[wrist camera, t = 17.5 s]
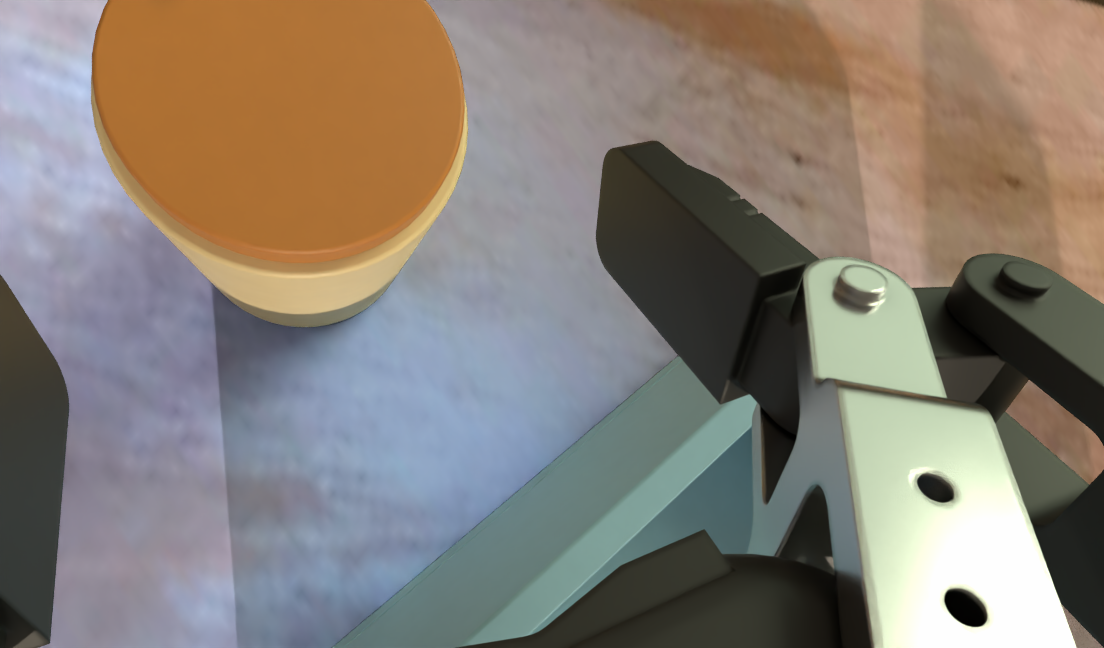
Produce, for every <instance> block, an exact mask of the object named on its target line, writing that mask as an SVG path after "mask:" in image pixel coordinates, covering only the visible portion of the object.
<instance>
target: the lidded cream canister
mask: <svg viewBox="0 0 1104 648" xmlns="http://www.w3.org/2000/svg"><path fill="white" fill-rule="evenodd" d="M91 104H92V110H93V117H94V124H95V128H96V131H97V135H98V138H99V141H100V144H101V147H102V151H103V153H104V155H105V157H106V159H107V161H108V163H109V165H110V167H111V169H112V171H113V174H114V175H115V177H116V178H117V180H118V181H119V183H120V184H121V186H122V187H123V189H124V190H125V192H126V193H127V195H128V196H129V197H130V198H131V199H132V201H133V202H134V203H135V204H136V205H137V206H138V207H139V209H140V210H141V211H142V212H143V213H144V214H145V215H146V216H147V217H148V219H149V220H150V221H151V222H152V223H153V224H154V225H155V226H156V227H157V228H158V229H159V230H160V231H161V232H162V233H163V234H164V235H165V236H166V237H167V238H168V239H169V240H170V241H171V242H172V243H173V244H174V245H175V246H176V247H177V248H178V249H179V250H180V251H181V252H182V253H183V254H184V255H185V256H186V257H187V258H188V259H189V260H190V261H191V262H192V263H193V264H194V265H195V266H196V267H197V268H198V269H199V270H200V271H201V272H202V273H203V274H204V275H205V276H206V278H207V279H208V280H209V281H210V282H211V283H212V284H213V285H214V286H215V287H216V288H217V289H218V290H219V291H220V292H221V293H222V294H223V295H224V296H226V297H227V298H228V299H229V300H230V301H231V302H232V303H234V304H235V305H237V306H238V307H240V308H241V309H243V310H244V311H246V312H248V313H250V314H252V315H254V316H256V317H257V318H260V319H263V320H266V321H268V322H271V323H275V324H280V325H284V326H292V327H317V326H324V325H330V324H333V323H337V322H340V321H343V320H345V319H348V318H350V317H353V316H355V315H356V314H358V313H360V312H362V311H363V310H365V309H366V308H368V307H369V306H370V305H371V304H373V303H374V302H375V301H376V300H377V299H378V298H379V297H380V296H381V295H382V294H383V293H384V292H385V291H386V290H387V288H388V287H389V286H390V284H391V283H392V282H393V280H394V279H395V277H396V276H397V274H398V273H399V272H400V270H401V269H402V267H403V266H404V264H405V263H406V261H407V260H408V259H409V257H410V256H411V254H412V253H413V251H414V250H415V249H416V247H417V246H418V244H419V243H420V241H421V240H422V238H423V237H424V236H425V234H426V233H427V231H428V230H429V228H430V227H431V226H432V224H433V223H434V221H435V220H436V218H437V217H438V215H439V214H440V213H441V211H442V210H443V208H444V207H445V205H446V203H447V201H448V200H449V198H450V196H451V194H452V192H453V191H454V189H455V186H456V183H457V181H458V178H459V176H460V173H461V171H462V166H463V162H464V158H465V154H466V147H467V136H468V119H467V106H466V101H465V95H464V88H463V82H462V76H461V71H460V67H459V64H458V61H457V57H456V54H455V51H454V49H453V46H452V44H451V42H450V40H449V37H448V35H447V33H446V31H445V29H444V27H443V25H442V24H441V22H440V20H439V19H438V17H437V15H436V14H435V12H434V10H433V9H432V8H431V6H430V5H429V4H428V2H427V1H426V0H108V2H107V4H106V5H105V7H104V9H103V12H102V15H101V18H100V21H99V24H98V27H97V30H96V34H95V40H94V46H93V52H92V76H91Z"/></svg>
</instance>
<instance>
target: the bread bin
mask: <svg viewBox="0 0 1104 648" xmlns="http://www.w3.org/2000/svg"><path fill="white" fill-rule="evenodd" d="M756 404H757V402H756V401H755V399H754V398H753V397H752V396H751V395H750V394H749V395H746V396H743V397H741V398H738V399H735V400H732V401H730V402H727V403H724V404H721V405H720V404H719V403H718V402H717V400H716V399H715V398H714V397H713V396H712V394H711V393H710V392H709V391H708V390H707V389H706V387H705V386H704V385H703V384H702V383H701V381H700V380H699V379H698V378H697V377H696V376H695V374H694V373H693V372H692V371H691V370H690V368H689V367H688V366H687V365H686V364H685V363H684V361H683V360H682V359H681V358H680V357H679V356H678V357H676V358H675V359H674V360H673V361H672V362H671V363H669V364H668V365H667V366H666V367H665V368H663V369H662V370H661V371H660V372H659V373H657V374H656V375H655V376H654V377H653V378H652V379H650V380H649V381H648V382H647V383H646V384H644V385H643V386H642V387H641V388H640V389H638V390H637V391H636V392H635V393H634V394H633V395H631V396H630V397H629V398H628V399H627V400H625V401H624V402H623V403H622V404H621V405H620V406H618V407H617V408H616V409H615V410H614V411H612V412H611V413H610V414H609V415H608V416H606V417H605V418H604V419H603V420H602V421H601V422H599V423H598V424H597V425H596V426H595V427H593V428H592V429H591V430H590V431H589V432H587V433H586V434H585V435H584V436H583V437H582V438H580V439H579V440H578V441H577V442H576V443H574V444H573V445H572V446H571V447H570V448H568V449H567V450H566V451H565V452H564V453H563V454H561V455H560V456H559V457H558V458H557V459H555V460H554V461H553V462H552V463H551V464H549V465H548V466H547V467H546V468H545V469H544V470H542V471H541V472H540V473H539V474H538V475H536V476H535V477H534V478H533V479H532V480H531V481H529V482H528V483H527V484H526V485H525V486H523V487H522V488H521V489H520V490H519V491H517V492H516V493H515V494H514V495H513V496H512V497H510V498H509V499H508V500H507V501H506V502H504V503H503V504H502V505H501V506H500V507H498V508H497V509H496V510H495V511H494V512H493V513H491V514H490V515H489V516H488V517H487V518H485V519H484V520H483V521H482V522H481V523H479V524H478V525H477V526H476V527H475V528H474V529H472V530H471V531H470V532H469V533H468V534H466V535H465V536H464V537H463V538H462V539H461V540H459V541H458V542H457V543H456V544H455V545H453V546H452V547H451V548H450V549H449V550H447V551H446V552H445V553H444V554H443V555H442V556H440V557H439V558H438V559H437V560H436V561H434V562H433V563H432V564H431V565H430V566H428V567H427V568H426V569H425V570H424V571H423V572H421V573H420V574H419V575H418V576H417V577H415V578H414V579H413V580H412V581H411V582H409V583H408V584H407V585H406V586H405V587H404V588H402V589H401V590H400V591H399V592H398V593H396V594H395V595H394V596H393V597H392V598H390V599H389V600H388V601H387V602H386V603H385V604H383V605H382V606H381V607H380V608H379V609H377V610H376V611H375V612H374V613H373V614H372V615H370V616H369V617H368V618H367V619H366V620H364V621H363V622H362V623H361V624H360V625H358V626H357V627H356V628H355V629H354V630H353V631H351V632H350V633H349V634H348V635H347V636H345V637H344V638H343V639H342V640H341V641H339V642H338V643H337V644H336V645H335V646H334V647H332V648H456V647H462V646H468V645H475V644H481V643H487V642H493V641H499V640H506V639H512V638H518V637H524V636H528V635H532V634H534V633H536V632H539V631H540V630H542V629H543V628H545V627H546V626H547V625H548V624H550V623H551V622H552V621H553V620H555V619H556V618H557V617H558V616H559V615H561V614H562V613H563V612H564V611H566V610H567V609H568V608H569V607H570V606H572V605H573V604H574V603H575V602H576V601H578V600H579V599H580V598H581V597H583V596H584V595H585V594H586V593H587V592H589V591H590V590H591V589H592V588H594V587H595V586H596V585H597V584H598V583H600V582H601V581H602V580H603V579H605V578H606V577H607V576H608V575H609V574H611V573H612V572H613V571H614V570H615V569H617V568H618V567H619V566H620V565H623V564H625V563H627V562H629V561H632V560H634V559H636V558H639V557H641V556H643V555H646V554H648V553H650V552H653V551H655V550H657V549H659V548H662V547H664V546H666V545H669V544H671V543H673V542H676V541H678V540H680V539H683V538H685V537H687V536H689V535H692V534H694V533H696V532H699V531H701V530H703V529H705V530H706V532H707V533H708V535H709V536H710V537H711V539H712V540H713V542H714V543H715V545H716V546H717V547H718V549H719V550H720V552H721V553H722V554H747V551H748V547H749V543H750V538H751V532H752V523H753V484H752V415H753V412H754V409H755V407H756Z"/></svg>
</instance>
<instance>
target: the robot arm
mask: <svg viewBox="0 0 1104 648" xmlns="http://www.w3.org/2000/svg"><path fill="white" fill-rule="evenodd" d="M596 242H597V248H598V253H599V256H600V259H601V261H602V263H603V265H604V267H605V269H606V270H607V271H608V273H609V274H610V275H611V276H612V277H613V279H614V280H615V281H616V282H617V283H618V285H619V286H620V287H621V288H622V289H623V290H624V292H625V293H626V294H627V295H628V296H629V298H630V299H631V300H632V301H633V302H634V303H635V305H636V306H637V307H638V308H639V309H640V311H641V312H642V313H643V314H644V315H645V316H646V318H647V319H648V320H649V321H650V322H651V324H652V325H653V326H654V327H655V328H656V329H657V331H658V332H659V333H660V334H661V335H662V337H663V338H664V339H665V340H666V341H667V342H668V344H669V345H670V346H671V347H672V348H673V350H674V351H675V352H676V353H677V354H678V355H679V357H680V358H681V359H682V360H683V361H684V363H685V364H686V365H687V366H688V367H689V368H690V370H691V371H692V372H693V373H694V374H695V376H696V377H697V378H698V379H699V380H700V381H701V383H702V384H703V385H704V386H705V387H706V389H707V390H708V391H709V392H710V393H711V394H712V396H713V397H714V398H715V399H716V400H717V402H718V403H719V404H720V405H721V404H724V403H727V402H730V401H732V400H735V399H738V398H741V397H743V396H746V395H749V394H750V395H751V396H752V397H753V398H754V399H755V401H756V402H757V404H756V407H755V409H754V412H753V415H752V484H753V523H752V532H751V538H750V543H749V547H748V551H747V554H722V553H721V552H720V550H719V549H718V547H717V546H716V545H715V543H714V542H713V540H712V539H711V537H710V536H709V535H708V533H707V532H706V530H705V529H703V530H701V531H699V532H696V533H694V534H692V535H689V536H687V537H685V538H683V539H680V540H678V541H676V542H673V543H671V544H669V545H666V546H664V547H662V548H659V549H657V550H655V551H653V552H650V553H648V554H646V555H643V556H641V557H639V558H636V559H634V560H632V561H629V562H627V563H625V564H623V565H620V566H619V567H618V568H617V569H615V570H614V571H613V572H612V573H611V574H609V575H608V576H607V577H606V578H605V579H603V580H602V581H601V582H600V583H598V584H597V585H596V586H595V587H594V588H592V589H591V590H590V591H589V592H587V593H586V594H585V595H584V596H583V597H581V598H580V599H579V600H578V601H576V602H575V603H574V604H573V605H572V606H570V607H569V608H568V609H567V610H566V611H564V612H563V613H562V614H561V615H559V616H558V617H557V618H556V619H555V620H553V621H552V622H551V623H550V624H548V625H547V626H546V627H545V628H543V629H542V630H540V631H539V632H536V633H534V634H532V635H528V636H524V637H518V638H512V639H506V640H499V641H493V642H487V643H481V644H475V645H468V646H462V647H456V648H1076V645H1075V642H1074V639H1073V637H1072V634H1071V631H1070V628H1069V626H1068V623H1067V620H1066V617H1065V615H1064V612H1063V609H1062V606H1061V604H1062V605H1063V606H1064V607H1065V608H1066V609H1067V610H1068V611H1069V612H1070V613H1071V614H1072V615H1073V616H1074V617H1075V618H1076V619H1077V621H1078V622H1079V623H1080V624H1081V625H1082V626H1083V627H1084V628H1085V629H1086V630H1087V631H1088V632H1089V633H1090V634H1091V635H1092V636H1093V637H1094V638H1095V639H1096V640H1097V641H1098V642H1099V643H1100V644H1101V645H1102V646H1103V647H1104V470H1103V471H1102V473H1101V474H1100V475H1099V476H1098V477H1097V478H1096V479H1095V480H1094V481H1093V482H1092V483H1091V484H1090V485H1089V484H1088V483H1087V482H1085V481H1084V480H1083V479H1082V478H1081V477H1080V476H1079V475H1077V474H1076V473H1075V472H1074V471H1073V470H1072V469H1070V468H1069V467H1068V466H1067V465H1066V464H1065V463H1064V462H1062V461H1061V460H1060V459H1059V458H1058V457H1057V456H1056V455H1054V454H1053V453H1052V452H1051V451H1050V450H1049V449H1047V448H1046V447H1045V446H1044V445H1043V444H1042V443H1041V442H1039V441H1038V440H1037V439H1036V438H1035V437H1034V436H1033V435H1031V434H1030V433H1029V432H1028V431H1027V430H1026V429H1024V428H1023V427H1022V426H1021V425H1020V424H1019V423H1018V422H1016V421H1015V420H1014V419H1013V418H1012V417H1011V416H1009V415H1008V414H1007V413H1006V412H1005V411H1006V410H1007V408H1008V407H1009V405H1010V404H1011V403H1012V401H1013V400H1014V399H1015V397H1016V396H1017V395H1018V393H1019V392H1020V391H1021V389H1022V388H1023V387H1024V385H1025V384H1026V383H1027V381H1028V380H1030V381H1032V382H1033V383H1034V384H1035V385H1037V386H1038V387H1039V388H1040V389H1042V390H1043V391H1044V392H1045V393H1047V394H1048V395H1049V396H1050V397H1052V398H1053V399H1054V400H1055V401H1056V402H1058V403H1059V404H1060V405H1061V406H1063V407H1064V408H1065V409H1066V410H1068V411H1069V412H1070V413H1071V414H1073V415H1074V416H1075V417H1076V418H1078V419H1079V420H1080V421H1081V422H1083V423H1084V424H1085V425H1086V426H1088V427H1089V428H1090V429H1091V430H1092V431H1093V432H1094V433H1095V434H1096V435H1097V436H1098V437H1099V439H1100V440H1101V442H1102V443H1103V446H1104V304H1103V303H1101V302H1100V301H1098V300H1096V299H1095V298H1093V297H1092V296H1090V295H1089V294H1087V293H1086V292H1084V291H1083V290H1081V289H1080V288H1078V287H1077V286H1075V285H1074V284H1072V283H1071V282H1069V281H1068V280H1066V279H1064V278H1063V277H1061V276H1060V275H1058V274H1057V273H1055V272H1053V271H1052V270H1050V269H1048V268H1046V267H1044V266H1042V265H1040V264H1037V263H1035V262H1032V261H1029V260H1026V259H1023V258H1019V257H1015V256H1011V255H1004V254H982V255H977V256H974V257H972V258H970V259H969V260H967V262H966V263H965V264H964V266H963V268H962V269H961V271H960V273H959V275H958V277H957V278H956V280H955V282H954V284H953V285H952V287H930V288H911V287H910V286H909V285H908V284H907V283H906V282H905V281H904V280H903V279H902V278H900V277H899V276H898V275H896V274H895V273H893V272H892V271H890V270H888V269H886V268H884V267H882V266H880V265H877V264H875V263H872V262H869V261H865V260H861V259H856V258H850V257H829V258H824V259H819V258H817V257H816V256H815V255H814V254H812V253H811V252H810V251H809V250H807V249H806V248H805V247H804V246H802V245H801V244H800V243H799V242H797V241H796V240H795V239H794V238H793V237H791V236H790V235H789V234H788V233H786V232H785V231H784V230H783V229H781V228H780V227H779V226H778V225H776V224H775V223H774V222H773V221H771V220H770V219H769V218H768V217H766V216H765V215H764V214H763V213H760V214H758V212H757V209H756V208H755V207H754V206H753V205H751V204H750V203H749V202H748V201H746V200H745V199H740V195H739V194H738V193H736V192H735V191H734V190H733V189H731V188H730V187H729V186H728V185H726V184H725V183H724V182H723V181H721V180H720V179H719V178H717V177H715V176H713V175H710V174H708V173H706V172H703V171H701V170H699V169H696V168H694V167H692V166H690V165H687V164H686V163H685V162H683V161H682V160H681V159H680V158H678V157H677V156H676V155H675V154H674V153H672V152H671V151H670V150H669V149H668V148H666V147H665V146H664V145H663V144H661V143H660V142H658V141H648V142H642V143H637V144H632V145H627V146H621V147H616V148H612V149H610V150H609V151H608V152H607V153H606V155H605V158H604V162H603V169H602V179H601V189H600V199H599V209H598V219H597V229H596ZM68 416H69V398H68V392H67V387H66V384H65V380H64V377H63V375H62V372H61V370H60V367H59V365H58V363H57V361H56V360H55V358H54V356H53V355H52V353H51V352H50V350H49V349H48V347H47V345H46V344H45V342H44V341H43V339H42V338H41V336H40V334H39V333H38V331H37V330H36V328H35V327H34V325H33V324H32V322H31V320H30V319H29V317H28V316H27V314H26V313H25V311H24V309H23V308H22V306H21V305H20V303H19V302H18V300H17V299H16V297H15V295H14V294H13V292H12V291H11V289H10V288H9V286H8V284H7V283H6V282H5V280H4V279H3V277H2V276H1V275H0V648H38V647H41V646H44V645H46V644H49V643H50V636H51V624H52V612H53V599H54V587H55V575H56V563H57V550H58V538H59V526H60V514H61V501H62V489H63V477H64V465H65V452H66V440H67V428H68ZM1060 603H1061V604H1060Z"/></svg>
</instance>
